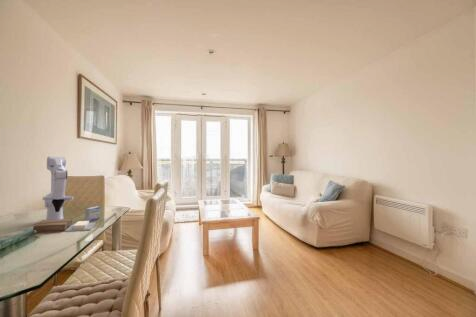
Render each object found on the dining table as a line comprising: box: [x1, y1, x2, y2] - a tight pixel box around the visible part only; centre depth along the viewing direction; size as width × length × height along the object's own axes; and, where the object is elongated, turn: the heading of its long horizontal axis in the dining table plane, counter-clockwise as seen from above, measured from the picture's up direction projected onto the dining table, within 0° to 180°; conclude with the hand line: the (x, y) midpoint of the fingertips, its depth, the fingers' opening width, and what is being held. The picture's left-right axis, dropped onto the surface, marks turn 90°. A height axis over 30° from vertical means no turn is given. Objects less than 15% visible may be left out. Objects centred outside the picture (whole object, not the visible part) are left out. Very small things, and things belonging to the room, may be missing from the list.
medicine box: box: [84, 205, 101, 222], centre depth 143 cm, size 8×4×9 cm, turn 168°
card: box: [73, 220, 90, 229], centre depth 127 cm, size 9×6×2 cm, turn 24°
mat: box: [64, 221, 97, 233], centre depth 127 cm, size 14×12×1 cm
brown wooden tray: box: [32, 218, 73, 234], centre depth 121 cm, size 12×14×4 cm
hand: (57, 211), depth 125 cm, fingers closed
